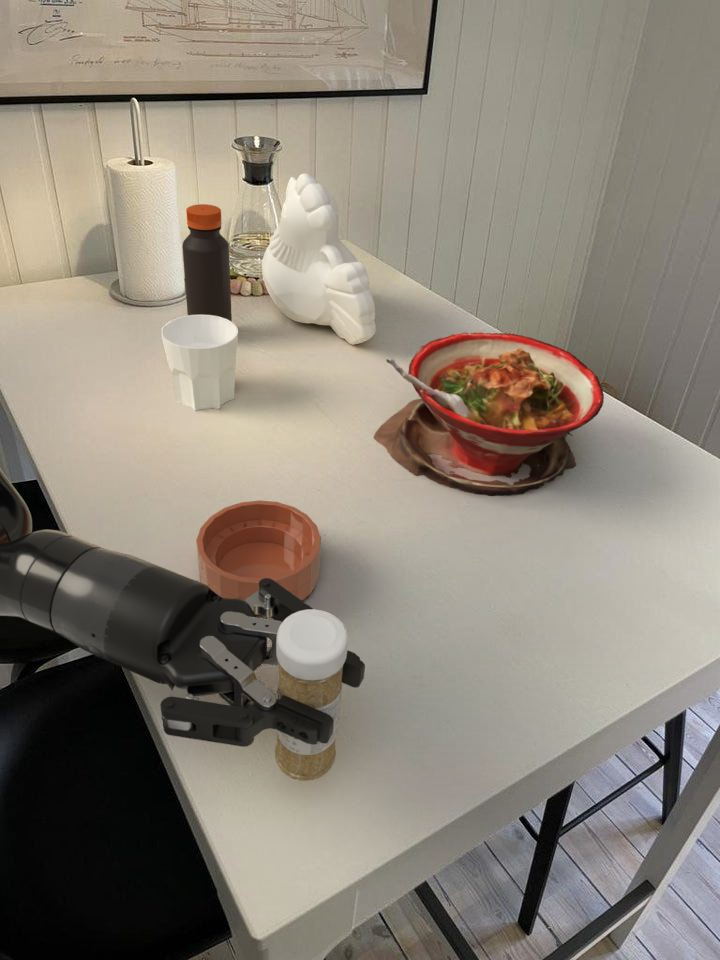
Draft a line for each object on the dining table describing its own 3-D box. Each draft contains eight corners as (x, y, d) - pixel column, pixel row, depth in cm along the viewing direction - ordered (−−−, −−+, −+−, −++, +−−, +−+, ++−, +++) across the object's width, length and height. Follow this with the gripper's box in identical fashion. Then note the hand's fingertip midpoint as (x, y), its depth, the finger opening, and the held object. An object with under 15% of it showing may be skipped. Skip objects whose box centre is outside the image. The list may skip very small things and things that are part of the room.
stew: (389, 519, 87) (403, 399, 77) (358, 408, 106) (366, 301, 96) (615, 508, 91) (655, 394, 82) (547, 404, 110) (573, 301, 100)
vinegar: (182, 331, 121) (172, 205, 109) (221, 323, 124) (215, 199, 112) (199, 349, 116) (190, 219, 104) (239, 340, 120) (235, 213, 108)
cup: (170, 417, 101) (163, 350, 95) (165, 380, 108) (158, 316, 102) (245, 411, 103) (243, 345, 97) (234, 375, 111) (232, 312, 105)
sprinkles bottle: (263, 748, 56) (262, 624, 48) (314, 719, 58) (321, 596, 50) (297, 796, 53) (302, 673, 45) (349, 763, 55) (363, 640, 47)
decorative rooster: (251, 256, 131) (246, 164, 107) (337, 235, 133) (351, 141, 109) (295, 386, 126) (300, 320, 102) (383, 361, 129) (409, 292, 105)
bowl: (259, 638, 71) (259, 601, 68) (175, 576, 77) (171, 540, 74) (342, 572, 79) (345, 537, 76) (259, 521, 85) (259, 486, 82)
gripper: (57, 646, 47) (299, 755, 42) (188, 518, 58) (393, 594, 53) (75, 718, 52) (295, 825, 47) (193, 588, 62) (383, 663, 58)
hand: (346, 701), depth 50 cm, fingers closed on sprinkles bottle, 4 cm apart
